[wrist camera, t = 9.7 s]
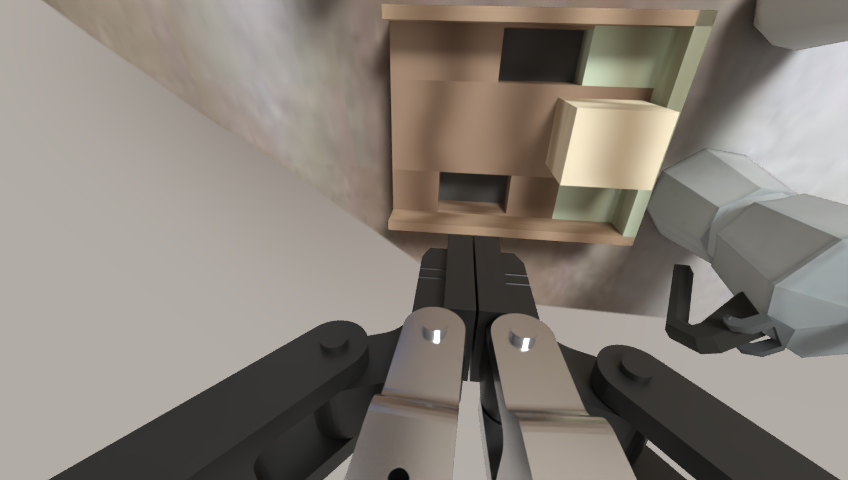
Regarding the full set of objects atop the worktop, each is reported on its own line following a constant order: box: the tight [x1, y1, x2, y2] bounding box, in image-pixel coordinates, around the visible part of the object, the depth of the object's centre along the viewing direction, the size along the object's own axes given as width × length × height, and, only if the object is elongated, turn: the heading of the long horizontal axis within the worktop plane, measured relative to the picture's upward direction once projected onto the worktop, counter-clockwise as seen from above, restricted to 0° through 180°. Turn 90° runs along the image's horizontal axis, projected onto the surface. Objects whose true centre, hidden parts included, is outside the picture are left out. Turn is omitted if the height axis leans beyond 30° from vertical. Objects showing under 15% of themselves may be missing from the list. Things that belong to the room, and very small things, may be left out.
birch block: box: [545, 97, 680, 190], centre depth 25 cm, size 6×5×5 cm
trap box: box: [382, 4, 718, 246], centre depth 27 cm, size 20×16×5 cm
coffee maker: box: [646, 148, 848, 358], centre depth 24 cm, size 15×9×18 cm, turn 127°
